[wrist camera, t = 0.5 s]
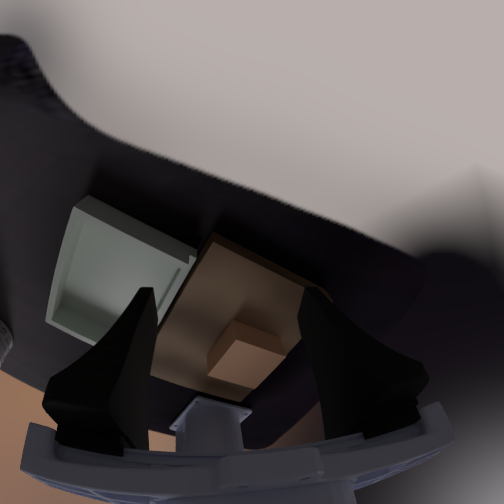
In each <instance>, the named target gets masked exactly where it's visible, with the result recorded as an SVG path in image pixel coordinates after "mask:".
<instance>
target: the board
mask: <svg viewBox="0 0 504 504" xmlns="http://www.w3.org/2000/svg"><path fill="white" fill-rule="evenodd" d="M305 287H317V288H318V289H319V290H320V291H321V292H322V293H323V294H324V295H325V296H326V297H327V298H328V299H329V300H330V301H331V302H333V301H332V299H331V298H330V296H329V294H328V293H327V291H326V290H325V289H323V288H322V287H320V286H318V285H316V284H314V283H312V282H310V281H308V280H306V279H304V278H302V277H300V276H298V275H296V274H294V273H293V272H291V271H289V270H287V269H285V268H283V267H281V266H279V265H277V264H275V263H273V262H271V261H269V260H267V259H265V258H263V257H262V256H260V255H258V254H256V253H254V252H252V251H250V250H248V249H246V248H244V247H242V246H240V245H238V244H236V243H234V242H232V241H231V240H229V239H227V238H225V237H223V236H221V235H219V234H217V233H215V232H213V231H212V233H211V235H210V236H209V238H208V240H207V241H206V243H205V245H204V246H203V248H202V250H201V251H200V253H199V255H198V256H197V259H196V260H195V262H194V264H193V265H192V267H191V269H190V271H189V272H188V274H187V276H186V277H185V279H184V281H183V283H182V284H181V286H180V288H179V290H178V291H177V293H176V295H175V297H174V298H173V300H172V302H171V304H170V305H169V307H168V309H167V311H166V313H165V314H164V316H163V318H162V320H161V321H160V323H159V325H158V329H157V339H156V344H155V350H154V355H153V361H152V366H151V372H150V375H152V376H155V377H158V378H161V379H163V380H166V381H169V382H172V383H175V384H178V385H181V386H185V387H188V388H191V389H194V390H198V391H201V392H204V393H208V394H211V395H215V396H219V397H222V398H226V399H230V400H234V401H238V402H241V401H242V400H243V399H244V398H245V397H246V396H247V395H248V394H249V393H250V392H251V391H252V390H253V388H249V387H245V386H242V385H238V384H235V383H231V382H228V381H224V380H221V379H218V378H214V377H211V376H208V375H207V354H208V353H209V352H210V350H211V349H212V348H213V346H214V345H215V344H216V342H217V341H218V340H219V338H220V337H221V336H222V334H223V333H224V332H225V330H226V329H227V328H228V326H229V325H230V324H231V322H232V321H233V320H236V321H238V322H241V323H243V324H246V325H248V326H251V327H253V328H256V329H259V330H261V331H264V332H266V333H269V334H272V335H274V336H277V337H280V339H281V342H282V345H283V348H284V351H285V354H286V355H287V354H288V353H289V351H290V350H291V349H292V348H293V347H294V346H295V345H296V344H297V343H298V342H299V340H300V339H301V338H302V337H301V334H300V330H299V325H298V320H297V315H298V311H299V307H300V304H301V300H302V296H303V292H304V288H305Z"/></svg>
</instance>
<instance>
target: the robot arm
mask: <svg viewBox="0 0 504 504" xmlns="http://www.w3.org/2000/svg"><path fill="white" fill-rule="evenodd" d="M297 320H298V325H299V330H300V334H301V337H302V340H303V343H304V346H305V349H306V352H307V355H308V358H309V360H310V363H311V366H312V369H313V372H314V376H315V379H316V384H317V389H318V393H319V399H320V404H321V410H322V417H323V423H324V433H325V441H320V442H314V443H308V444H302V445H296V446H289V447H282V448H273V449H264V450H253V451H244V448H243V441H242V435H241V428H240V423H241V422H242V421H243V420H244V419H245V418H246V417H247V416H249V415H250V414H251V413H252V410H251V409H250V408H245V407H241V406H237V405H232V404H228V403H224V402H221V401H217V400H213V399H209V398H206V397H202V396H196V397H195V398H194V399H193V400H192V401H191V402H190V403H189V405H188V406H187V407H186V408H185V409H184V410H183V411H182V413H181V414H180V415H179V416H178V417H177V418H176V419H175V421H174V422H173V423H172V424H171V425H170V429H171V430H174V431H176V452H163V451H149V439H148V438H149V437H148V393H149V379H150V372H151V366H152V361H153V355H154V350H155V344H156V339H157V329H158V314H157V308H156V301H155V295H154V288H153V287H140V288H139V289H138V291H137V293H136V294H135V296H134V297H133V299H132V300H131V302H130V303H129V305H128V306H127V307H126V309H125V310H124V311H123V313H122V314H121V316H120V317H119V318H118V320H117V321H116V322H115V323H114V324H113V326H112V327H111V328H110V329H109V330H108V332H107V333H106V334H105V335H104V336H103V337H102V338H101V339H100V340H99V341H98V342H97V343H96V344H95V345H94V346H93V347H92V348H91V349H90V350H89V351H88V352H87V353H85V354H84V355H83V356H82V357H81V358H79V359H78V360H77V361H75V362H74V363H73V364H71V365H70V366H68V367H67V368H65V369H64V370H62V371H61V372H59V373H57V374H56V375H54V376H52V377H50V380H49V382H48V384H47V387H46V391H45V394H44V398H43V401H42V406H43V408H44V410H45V411H46V413H47V414H49V416H50V417H51V418H52V419H53V420H54V421H55V422H56V423H57V424H58V426H57V431H56V430H54V429H52V428H50V427H46V426H43V425H39V424H36V423H32V422H31V423H29V427H28V431H27V436H26V440H25V445H24V449H23V455H22V459H21V465H20V469H21V470H22V471H23V472H25V473H26V474H28V475H30V476H31V477H33V478H35V479H37V480H38V481H40V482H42V483H44V484H46V485H48V486H50V487H54V488H57V489H60V490H63V491H66V492H70V493H73V494H77V495H80V496H84V497H88V498H91V499H95V500H100V501H104V502H108V503H113V504H357V502H356V499H355V495H354V492H353V490H356V489H358V488H361V487H364V486H367V485H370V484H372V483H375V482H378V481H381V480H383V479H385V478H388V477H390V476H393V475H395V474H398V473H400V472H402V471H404V470H407V469H409V468H411V467H413V466H416V465H418V464H420V463H422V462H424V461H426V460H428V459H430V458H432V457H433V456H435V455H436V454H438V453H439V452H440V451H442V450H443V449H445V448H446V447H448V446H449V445H450V444H452V443H453V442H454V441H456V439H457V437H456V435H455V433H454V431H453V429H452V427H451V424H450V422H449V420H448V418H447V416H446V414H445V412H444V410H443V408H442V406H441V404H440V402H435V403H433V404H430V405H427V406H425V407H423V408H421V409H419V410H417V407H416V405H417V404H418V401H417V399H416V397H417V396H418V395H419V394H420V392H421V391H422V390H423V389H424V388H425V386H426V385H427V384H428V381H429V375H428V373H427V371H426V369H425V368H424V366H423V364H422V363H421V362H418V361H416V360H414V359H411V358H409V357H406V356H404V355H402V354H400V353H398V352H396V351H394V350H392V349H390V348H388V347H387V346H385V345H383V344H382V343H380V342H379V341H377V340H376V339H374V338H373V337H371V336H370V335H368V334H367V333H366V332H364V331H363V330H362V329H360V328H359V327H358V326H357V325H356V324H355V323H353V322H352V321H351V320H350V319H349V318H348V317H347V316H346V315H344V314H343V313H342V312H341V311H340V310H339V309H338V308H337V307H336V306H335V305H334V304H333V303H332V302H331V301H330V300H329V299H328V298H327V297H326V296H325V295H324V294H323V293H322V292H321V291H320V290H319V289H318V288H317V287H305V288H304V292H303V296H302V300H301V304H300V307H299V311H298V315H297Z"/></svg>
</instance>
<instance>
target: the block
mask: <svg viewBox="0 0 504 504" xmlns="http://www.w3.org/2000/svg"><path fill="white" fill-rule="evenodd" d="M285 357H286V354H285V351H284V348H283V345H282V342H281V339H280V337H277V336H274V335H272V334H269V333H266V332H264V331H261V330H259V329H256V328H253V327H251V326H248V325H246V324H243V323H241V322H238V321H236V320H233V321H232V322H231V324H230V325H229V326H228V328H227V329H226V330H225V332H224V333H223V334H222V336H221V337H220V338H219V340H218V341H217V342H216V344H215V345H214V346H213V348H212V349H211V350H210V352H209V353H208V354H207V375H208V376H211V377H214V378H218V379H221V380H224V381H228V382H231V383H235V384H238V385H242V386H245V387H249V388H253V389H255V388H256V387H257V386H258V385H259V384H260V383H261V382H262V381H263V380H264V379H265V378H266V377H267V376H268V375H269V374H270V373H271V372H272V371H273V370H274V369H275V368H276V367H277V366H278V365H279V364H280V363H281V362H282V361H283V360H284V359H285Z"/></svg>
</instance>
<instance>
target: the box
mask: <svg viewBox="0 0 504 504" xmlns="http://www.w3.org/2000/svg"><path fill="white" fill-rule="evenodd" d="M196 259H197V249H195V248H193V247H191V246H189V245H187V244H185V243H183V242H181V241H179V240H177V239H175V238H173V237H171V236H169V235H167V234H165V233H163V232H161V231H159V230H157V229H155V228H153V227H151V226H149V225H147V224H145V223H143V222H141V221H139V220H137V219H135V218H133V217H131V216H129V215H127V214H125V213H123V212H121V211H119V210H117V209H115V208H113V207H112V206H110V205H108V204H106V203H104V202H102V201H100V200H98V199H96V198H94V197H92V196H90V195H87V196H86V197H85V198H84V199H82V200H81V201H80V202H78V203H77V204H76V205H75V206H74V207H73V210H72V213H71V216H70V219H69V222H68V225H67V228H66V232H65V235H64V239H63V242H62V246H61V249H60V253H59V257H58V261H57V265H56V269H55V273H54V278H53V282H52V287H51V292H50V297H49V302H48V308H47V314H46V320H45V321H46V322H47V323H49V324H51V325H53V326H55V327H57V328H59V329H61V330H62V331H64V332H66V333H68V334H70V335H72V336H74V337H76V338H78V339H80V340H82V341H85V342H87V343H89V344H91V345H93V346H94V345H95V344H96V343H97V342H98V341H99V340H100V339H101V338H102V337H103V336H104V335H105V334H106V333H107V332H108V330H109V329H110V328H111V327H112V326H113V324H114V323H115V322H116V321H117V320H118V318H119V317H120V316H121V314H122V313H123V311H124V310H125V309H126V307H127V306H128V305H129V303H130V302H131V300H132V299H133V297H134V296H135V294H136V293H137V291H138V289H139V288H140V287H153V288H154V295H155V301H156V308H157V314H158V325H159V323H160V321H161V320H162V318H163V316H164V314H165V313H166V311H167V309H168V307H169V305H170V304H171V302H172V300H173V298H174V297H175V295H176V293H177V291H178V290H179V288H180V286H181V284H182V283H183V281H184V279H185V277H186V276H187V274H188V272H189V271H190V269H191V267H192V265H193V264H194V262H195V260H196Z"/></svg>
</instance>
